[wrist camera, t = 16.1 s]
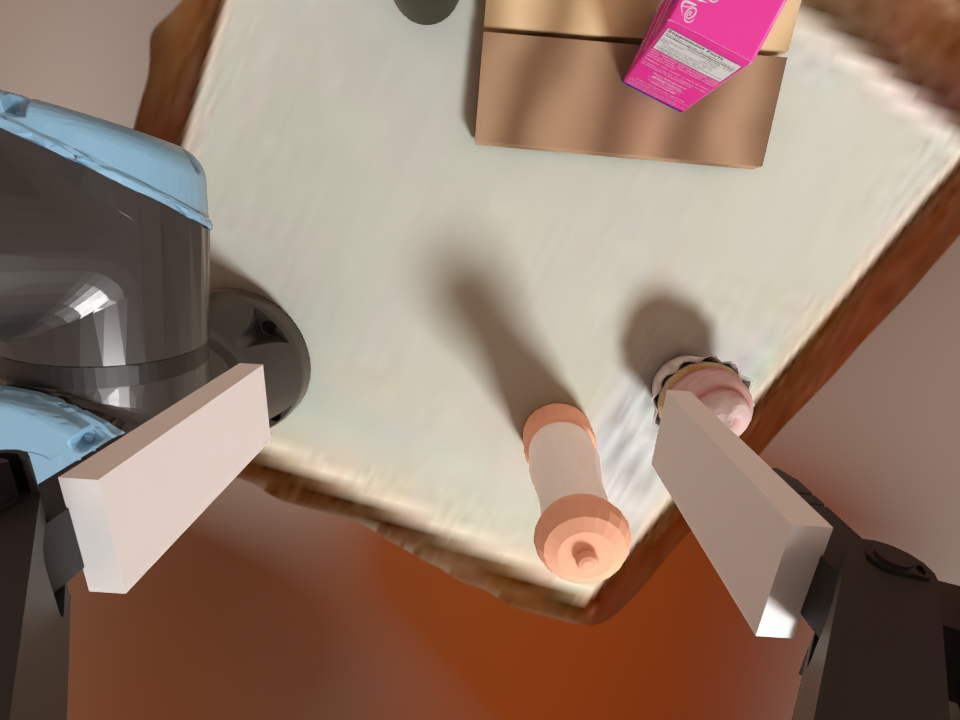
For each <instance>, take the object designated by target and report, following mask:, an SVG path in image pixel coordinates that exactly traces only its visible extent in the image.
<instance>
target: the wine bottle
mask: <svg viewBox="0 0 960 720" xmlns="http://www.w3.org/2000/svg"><path fill="white" fill-rule="evenodd" d="M394 1H395V3H396V5H397V7H398V8H399V10H400V11H401V12H402V13H403V14H404V15H405V16H406V17H407V18H408V19H410V20H411V21H413V22H415V23H418V24H422V25H431V24H436V23H438V22H441V21H442V20H444V19H445V18H447V17H448V16H449V15H450V14H451V13H452V11H453V10H454V9H455V7H456V5H457V3H458V1H459V0H394Z"/></svg>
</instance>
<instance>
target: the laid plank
mask: <svg viewBox="0 0 960 720" xmlns="http://www.w3.org/2000/svg"><path fill="white" fill-rule="evenodd" d="M661 1H662V0H486V5H485V18H484V30H485V32H493V33H505V34H517V35H529V36H540V37H552V38H564V39H575V40H587V41H599V42H610V43H622V44H634V45H641V43H642V41H643V39H644V36H645V34H646V32H647V30H648V28H649V26H650V23H651V21H652V19H653V16H654V14H655V12H656V9H657V8H658V6H659V4H660V3H661ZM800 3H801V0H787V1H786V3H785V5H784V7H783V8H782V10H781V12H780V14H779V16H778V18H777V19H776V21H775V23H774V25H773V27H772V29H771V30H770V32H769V34H768V36H767V38H766V40H765V41H764V43H763V45H762V47H761V48H760V50H759V52H758V54H757V55H762V56H774V57H778V56H780V55H781V54H783V53H785V52H787V51H788V49H789V46H790V42H791V38H792V34H793V30H794V26H795V22H796V19H797V15H798V11H799V7H800Z"/></svg>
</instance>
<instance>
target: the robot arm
mask: <svg viewBox="0 0 960 720" xmlns="http://www.w3.org/2000/svg"><path fill="white" fill-rule="evenodd" d="M210 230H212V223H211V221H210V220H209V217H208V201H207V184H206V176H205V172H204V170H203V168H202V166H201V164H200V163H199V161H198V160H197V159H196V158H195V157H194V156H193V155H192V154H191V153H189V152H188V151H187V150H185V149H183V148H182V147H180V146H177V145H175V144H173V143H170V142H168V141H165V140H162V139H159V138H157V137H154V136H151V135H148V134H145V133H142V132H139V131H136V130H133V129H130V128H127V127H124V126H121V125H118V124H115V123H112V122H109V121H106V120H103V119H100V118H96V117H93V116H90V115H86V114H83V113H80V112H77V111H73V110H70V109H67V108H64V107H60V106H57V105H53V104H50V103H46V102H43V101H39V100H34V99H28V98H27V97H24V96H21V95H17V94H13V93H10V92H6V91H2V90H0V720H67V702H68V700H67V699H68V670H69V668H68V667H69V638H70V604H71V596H70V593H69V589H68V586H67V582H68V581H69V580H70V579H71V578H72V577H74V576H75V575H76V574H77V573H78V572H79V571H80V570H81V569H83V570H84V574H85V577H86V581H87V585H88V588H89V591H92V592H107V593H123V594H126V593H127V592H128V591H129V589H130V588H131V587H132V586H133V585H134V584H135V583H136V582H137V581H138V580H139V579H140V578H141V577H142V576H143V575H144V574H145V573H146V571H147V570H148V569H149V568H150V567H151V566H152V565H153V564H154V563H155V562H156V561H157V560H158V559H159V558H160V557H161V556H162V555H163V553H164V552H165V551H166V550H167V549H168V548H169V547H170V546H171V545H172V544H173V543H174V542H175V541H176V540H177V539H178V537H180V536H181V534H182V533H183V532H184V531H185V530H186V529H187V528H188V527H189V526H190V525H191V524H192V523H193V522H194V520H196V519H197V517H198V516H199V515H200V514H201V513H202V512H203V511H204V510H205V509H206V508H207V507H208V506H209V505H210V504H211V503H212V501H213V500H214V499H215V498H216V497H217V496H218V495H219V494H220V493H221V492H222V491H223V490H224V489H225V488H226V487H227V486H228V485H229V483H230V482H231V481H232V480H233V479H234V478H235V477H236V476H237V475H238V474H239V473H240V472H241V471H242V470H243V469H244V468H245V467H246V466H247V464H248V463H249V462H250V461H251V460H252V459H253V458H254V457H255V456H256V455H257V454H258V453H259V452H260V451H261V450H262V449H263V447H264V446H265V445H266V444H267V443H268V442H269V441H270V440H271V438H270V428H271V427H273V426H275V425H276V424H278V423H279V422H281V421H282V420H283V419H285V418H286V417H287V416H288V415H289V414H290V413H291V412H292V411H293V410H294V409H295V408H296V407H297V406H298V405H299V403H300V402H301V400H302V399H303V397H304V395H305V393H306V391H307V388H308V385H309V380H310V369H311V367H310V358H309V353H308V349H307V346H306V344H305V341H304V339H303V337H302V335H301V333H300V331H299V330H298V328H297V327H296V325H295V324H294V323H293V321H292V320H291V319H290V318H289V317H288V316H287V315H286V314H285V313H284V312H283V311H282V310H281V309H280V308H279V307H277V306H276V305H275V304H273V303H272V302H270V301H268V300H267V299H265V298H263V297H261V296H259V295H257V294H254V293H251V292H248V291H245V290H240V289H233V288H219V289H212V290H210ZM652 466H653V467H654V469H655V470H656V472H657V474H658V475H659V477H660V479H661V480H662V482H663V484H664V485H665V487H666V489H667V490H668V492H669V494H670V495H671V497H672V499H673V500H674V502H675V503H676V505H677V507H678V508H679V510H680V512H681V513H682V515H683V517H684V518H685V520H686V522H687V523H688V525H689V527H690V528H691V530H692V531H693V533H694V535H695V536H696V538H697V540H698V541H699V543H700V545H701V546H702V548H703V550H704V551H705V553H706V554H707V556H708V558H709V559H710V561H711V563H712V564H713V566H714V568H715V569H716V571H717V573H718V574H719V576H720V578H721V579H722V581H723V582H724V584H725V586H726V587H727V589H728V591H729V592H730V594H731V596H732V597H733V599H734V601H735V602H736V604H737V606H738V607H739V609H740V610H741V612H742V614H743V615H744V617H745V619H746V621H747V622H748V624H749V625H750V627H751V629H752V630H753V632H754V634H755V635H756V636H767V637H781V638H793V637H794V634H795V631H796V629H797V626H798V623H799V620H800V618H801V615H802V616H803V617H804V619H805V620H806V621H807V623H808V624H809V625H810V627H811V628H812V629H813V631H814V635H813V637H812V640H811V643H810V645H809V648H808V650H807V653H806V656H805V658H804V661H803V663H802V666H801V669H800V671H799V674H800V675H802V678H801V683H800V686H799V691H798V695H797V699H796V703H795V707H794V711H793V716H792V720H960V586H957V585H953V584H949V583H946V582H941V581H938V580H937V578H936V576H935V574H934V573H933V572H932V571H931V570H930V569H929V568H928V567H927V566H926V565H925V564H924V563H923V562H921V561H919V560H918V559H916V558H915V557H913V556H912V555H910V554H908V553H906V552H904V551H902V550H900V549H898V548H896V547H894V546H891V545H888V544H884V543H881V542H878V541H874V540H867V539H862V538H861V537H860V536H859V535H858V534H856V533H855V532H854V531H853V530H852V529H851V528H850V527H848V525H846V523H844V522H843V521H842V520H841V519H840V518H839V517H838V516H837V515H836V514H835V513H833V512H832V511H831V510H830V509H829V508H828V507H824V503H822V502H821V501H820V500H819V499H818V498H817V497H816V496H812V493H811V492H810V491H809V490H808V489H807V488H806V487H805V486H804V485H803V484H801V483H800V482H799V481H798V480H797V479H795V478H793V477H791V476H790V475H788V474H786V473H785V472H783V471H781V470H779V469H777V468H770V467H769V466H768V465H767V464H766V463H765V462H764V461H763V460H762V459H761V458H760V457H759V456H758V455H757V454H756V453H755V452H754V451H752V450H751V449H750V448H749V447H748V446H747V445H746V444H745V443H744V442H743V441H742V440H741V439H740V438H739V437H738V436H737V435H736V434H735V433H734V432H733V431H732V430H730V429H729V428H728V427H727V426H726V425H725V424H724V423H723V422H722V421H721V420H720V419H719V418H718V417H717V416H716V415H715V414H714V413H713V412H712V411H711V410H710V409H708V408H707V407H706V406H705V405H704V404H703V403H702V402H701V401H700V400H699V399H698V398H697V397H696V396H695V395H694V394H693V393H692V392H691V391H678V390H667V391H666V396H665V401H664V406H663V410H662V415H661V420H660V425H659V430H658V435H657V440H656V445H655V450H654V455H653V460H652Z"/></svg>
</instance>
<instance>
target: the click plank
mask: <svg viewBox="0 0 960 720" xmlns="http://www.w3.org/2000/svg"><path fill="white" fill-rule="evenodd" d="M639 47H640V45H634V44H622V43H610V42H599V41H587V40H575V39H564V38H552V37H540V36H529V35H517V34H505V33H493V32H483V43H482V56H481V68H480V81H479V93H478V106H477V119H476V131H475V144H476V145H486V146H497V147H508V148H520V149H531V150H542V151H553V152H564V153H576V154H587V155H598V156H609V157H621V158H632V159H643V160H654V161H665V162H677V163H688V164H699V165H710V166H721V167H733V168H744V169H755V168H758V167H762V165H763V161H764V156H765V152H766V148H767V143H768V139H769V135H770V130H771V126H772V121H773V117H774V113H775V108H776V104H777V100H778V95H779V91H780V87H781V82H782V78H783V73H784V69H785V65H786V60H787V58H786V57H774V56H762V55H757V56H756V57H755V59H754V60H753V62H752V63H751V64H749V65H748V66H747V67H745V68H744V69H742V70H741V71H739V72H738V73H737V74H735V75H734V76H732V77H731V78H730V79H728V80H727V81H725V82H724V83H722V84H721V85H720V86H718V87H717V88H715V89H714V90H713V91H711V92H710V93H709V94H707V95H706V96H704V97H703V98H701V99H700V100H699V101H697V102H696V103H694V104H693V105H692V106H690V107H689V108H687V109H686V110H685V111H683V112H679V111H677V110H675V109H673V108H671V107H669V106H667V105H665V104H663V103H661V102H659V101H657V100H655V99H653V98H651V97H649V96H648V95H646V94H644V93H642V92H640V91H638V90H636V89H634V88H632V87H630V86H628V85H626V84H624V83H623V82H622V81H623V79H624V77H625V75H626V73H627V71H628V69H629V67H630V65H631V63H632V61H633V59H634V57H635V55H636V53H637V51H638V49H639Z"/></svg>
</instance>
